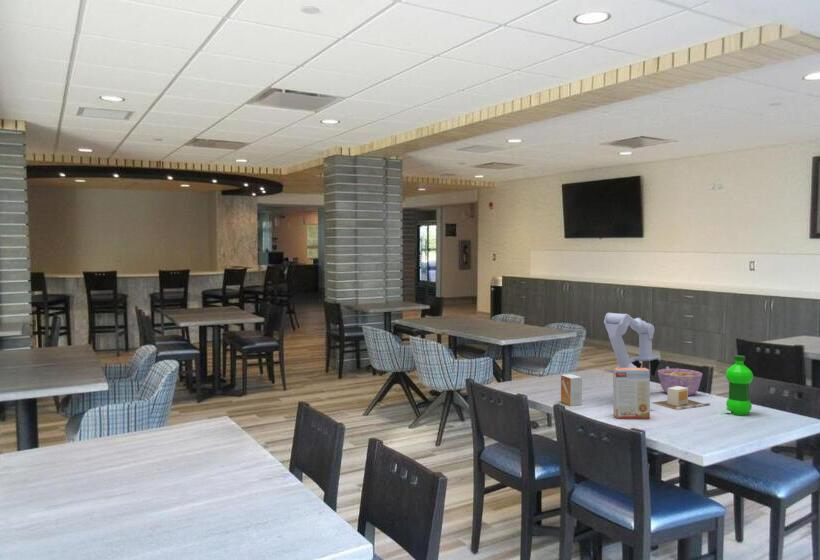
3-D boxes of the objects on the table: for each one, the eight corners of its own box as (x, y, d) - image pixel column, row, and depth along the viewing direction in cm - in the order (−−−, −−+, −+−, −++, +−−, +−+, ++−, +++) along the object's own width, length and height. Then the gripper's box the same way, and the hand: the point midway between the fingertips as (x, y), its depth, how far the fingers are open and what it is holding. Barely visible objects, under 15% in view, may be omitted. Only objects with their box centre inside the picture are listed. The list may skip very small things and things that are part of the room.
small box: (560, 402, 290) (560, 374, 290) (572, 401, 292) (572, 373, 292) (570, 406, 283) (570, 378, 282) (582, 405, 285) (582, 377, 284)
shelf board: (677, 413, 268) (677, 408, 268) (651, 405, 282) (651, 400, 282) (710, 408, 276) (710, 403, 276) (683, 401, 290) (683, 396, 290)
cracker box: (646, 415, 266) (646, 367, 265) (650, 419, 260) (650, 369, 259) (612, 415, 267) (612, 366, 266) (615, 418, 261) (616, 369, 260)
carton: (677, 405, 276) (678, 390, 276) (667, 403, 280) (667, 388, 280) (688, 403, 281) (688, 387, 280) (677, 401, 285) (677, 385, 285)
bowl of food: (693, 391, 310) (693, 368, 310) (708, 401, 290) (709, 376, 290) (652, 391, 312) (652, 368, 312) (664, 400, 292) (664, 376, 292)
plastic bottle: (738, 417, 261) (739, 358, 260) (719, 411, 272) (720, 354, 271) (757, 415, 264) (758, 357, 263) (738, 409, 274) (739, 353, 273)
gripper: (635, 349, 293) (635, 378, 294) (664, 348, 295) (664, 376, 296) (628, 347, 300) (628, 375, 301) (655, 346, 302) (655, 373, 303)
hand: (645, 375), depth 299 cm, fingers open, 7 cm apart
